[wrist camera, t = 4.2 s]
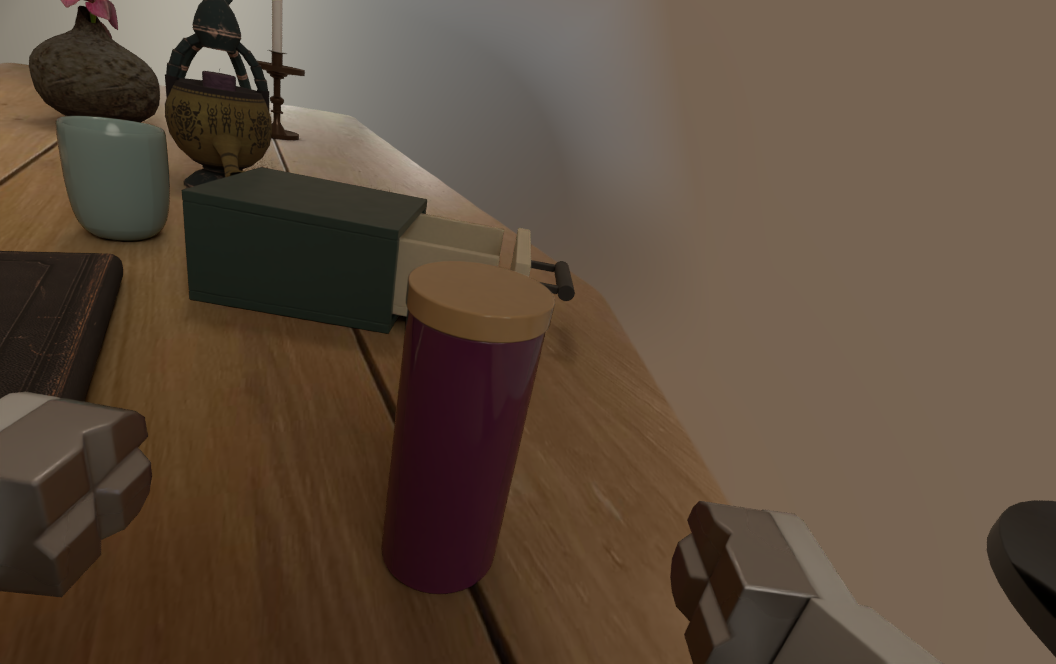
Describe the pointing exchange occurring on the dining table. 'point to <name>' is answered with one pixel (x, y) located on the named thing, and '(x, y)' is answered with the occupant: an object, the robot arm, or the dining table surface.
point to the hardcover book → (54, 319)
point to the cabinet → (297, 246)
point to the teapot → (217, 100)
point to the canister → (459, 418)
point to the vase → (93, 70)
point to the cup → (115, 175)
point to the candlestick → (278, 73)
